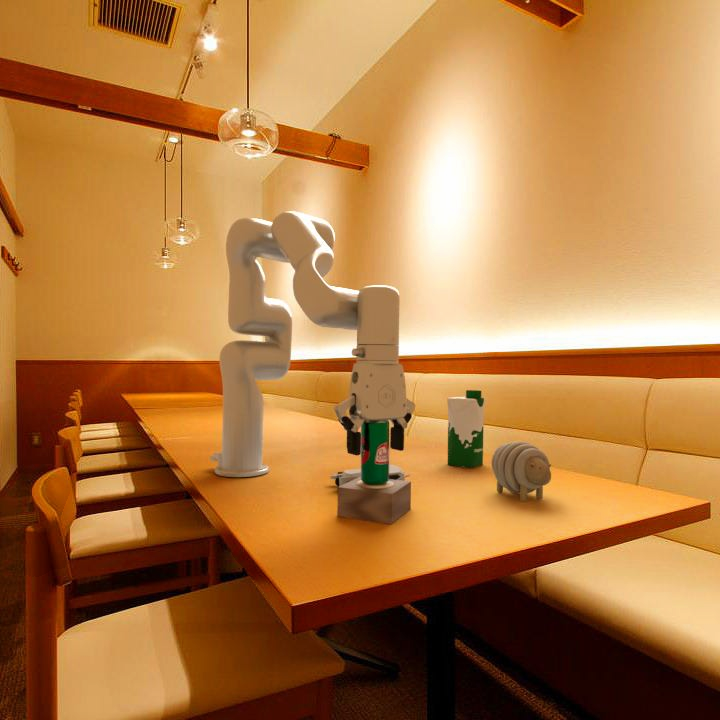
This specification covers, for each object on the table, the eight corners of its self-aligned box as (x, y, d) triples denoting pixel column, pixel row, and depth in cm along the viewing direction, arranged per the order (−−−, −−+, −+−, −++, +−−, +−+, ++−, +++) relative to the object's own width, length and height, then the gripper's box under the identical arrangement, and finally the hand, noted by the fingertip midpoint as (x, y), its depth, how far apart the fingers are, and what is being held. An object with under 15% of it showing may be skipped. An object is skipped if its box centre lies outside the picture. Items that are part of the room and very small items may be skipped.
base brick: (337, 515, 87) (337, 485, 87) (360, 502, 96) (361, 474, 96) (391, 524, 83) (392, 492, 83) (410, 508, 92) (411, 480, 92)
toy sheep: (527, 508, 94) (528, 449, 94) (471, 488, 109) (472, 436, 109) (569, 503, 98) (570, 446, 98) (509, 484, 113) (510, 434, 114)
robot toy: (344, 503, 99) (413, 492, 104) (342, 480, 99) (412, 470, 104) (328, 488, 111) (391, 479, 115) (327, 468, 111) (390, 459, 115)
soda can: (380, 487, 86) (380, 418, 86) (355, 483, 89) (355, 416, 89) (394, 481, 90) (394, 414, 90) (370, 477, 93) (370, 413, 93)
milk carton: (474, 469, 129) (475, 391, 129) (442, 464, 134) (443, 390, 134) (487, 464, 136) (488, 390, 136) (456, 460, 141) (457, 389, 141)
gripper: (349, 354, 82) (347, 459, 82) (427, 356, 92) (426, 451, 92) (325, 354, 88) (323, 452, 88) (401, 357, 98) (399, 445, 98)
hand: (376, 451), depth 90 cm, fingers open, 9 cm apart
